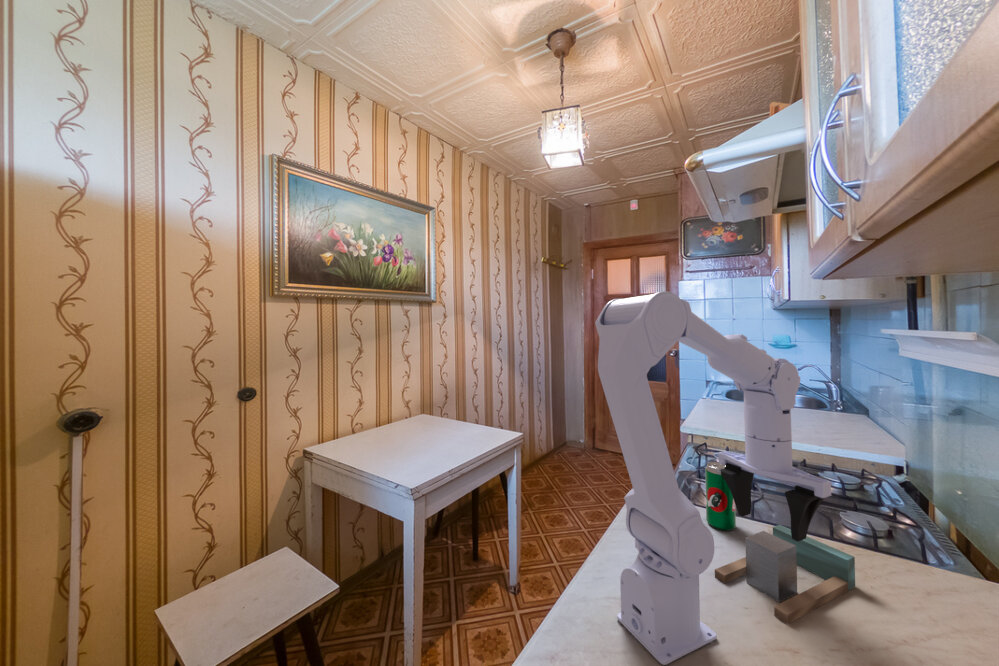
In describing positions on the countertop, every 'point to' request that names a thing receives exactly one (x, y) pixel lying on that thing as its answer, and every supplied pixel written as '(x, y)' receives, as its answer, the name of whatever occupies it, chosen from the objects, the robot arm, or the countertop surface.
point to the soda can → (719, 499)
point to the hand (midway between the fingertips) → (769, 525)
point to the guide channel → (814, 559)
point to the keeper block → (771, 565)
